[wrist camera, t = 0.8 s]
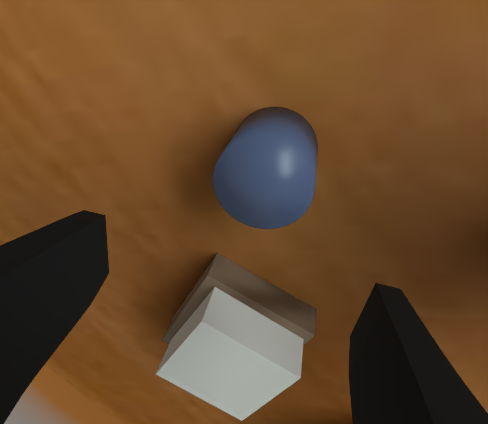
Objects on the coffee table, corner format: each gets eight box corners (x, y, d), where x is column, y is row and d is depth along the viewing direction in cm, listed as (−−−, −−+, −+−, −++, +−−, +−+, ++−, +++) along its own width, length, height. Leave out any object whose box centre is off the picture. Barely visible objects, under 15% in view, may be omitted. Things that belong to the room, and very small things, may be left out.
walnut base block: (316, 303, 23) (314, 335, 21) (260, 357, 27) (254, 389, 24) (219, 248, 22) (207, 275, 20) (175, 311, 26) (161, 340, 24)
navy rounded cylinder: (335, 136, 17) (336, 173, 13) (288, 199, 19) (279, 244, 15) (260, 89, 16) (242, 115, 13) (221, 159, 18) (197, 196, 15)
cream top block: (303, 339, 21) (300, 378, 19) (249, 383, 24) (241, 421, 22) (214, 286, 20) (201, 321, 18) (171, 339, 23) (155, 374, 21)
